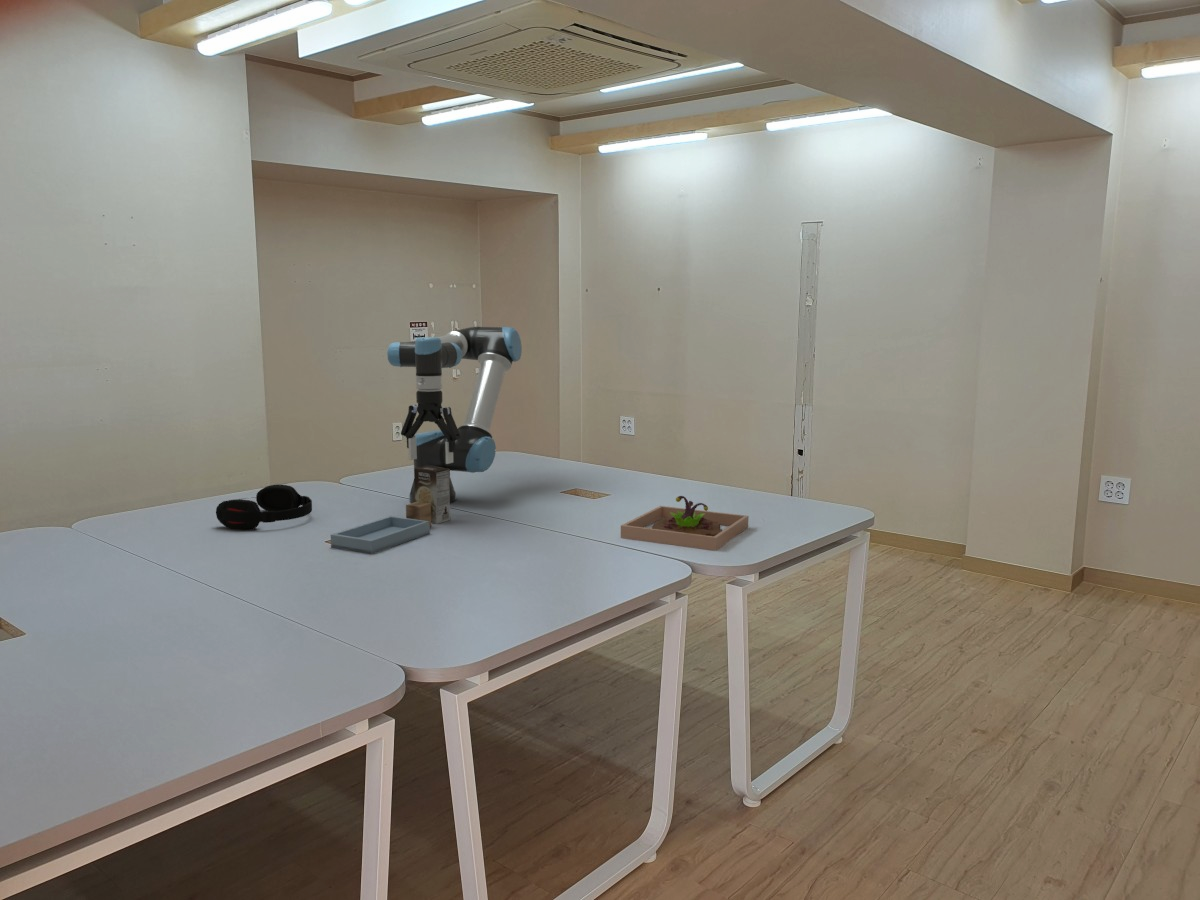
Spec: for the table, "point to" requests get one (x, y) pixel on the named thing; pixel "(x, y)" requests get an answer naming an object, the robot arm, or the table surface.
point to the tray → (380, 534)
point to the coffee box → (433, 491)
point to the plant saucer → (638, 532)
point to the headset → (273, 499)
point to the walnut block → (419, 511)
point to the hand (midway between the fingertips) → (431, 461)
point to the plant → (689, 521)
